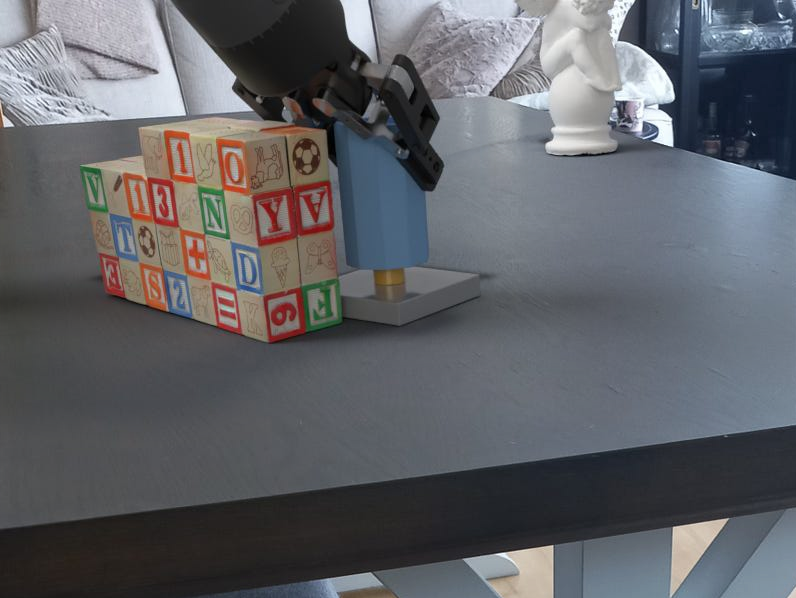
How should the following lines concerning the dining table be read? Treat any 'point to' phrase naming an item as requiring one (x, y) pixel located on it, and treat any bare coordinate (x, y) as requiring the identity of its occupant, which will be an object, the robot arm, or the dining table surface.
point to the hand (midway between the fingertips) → (398, 177)
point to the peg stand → (403, 293)
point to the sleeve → (379, 205)
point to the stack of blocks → (222, 225)
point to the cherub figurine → (578, 72)
